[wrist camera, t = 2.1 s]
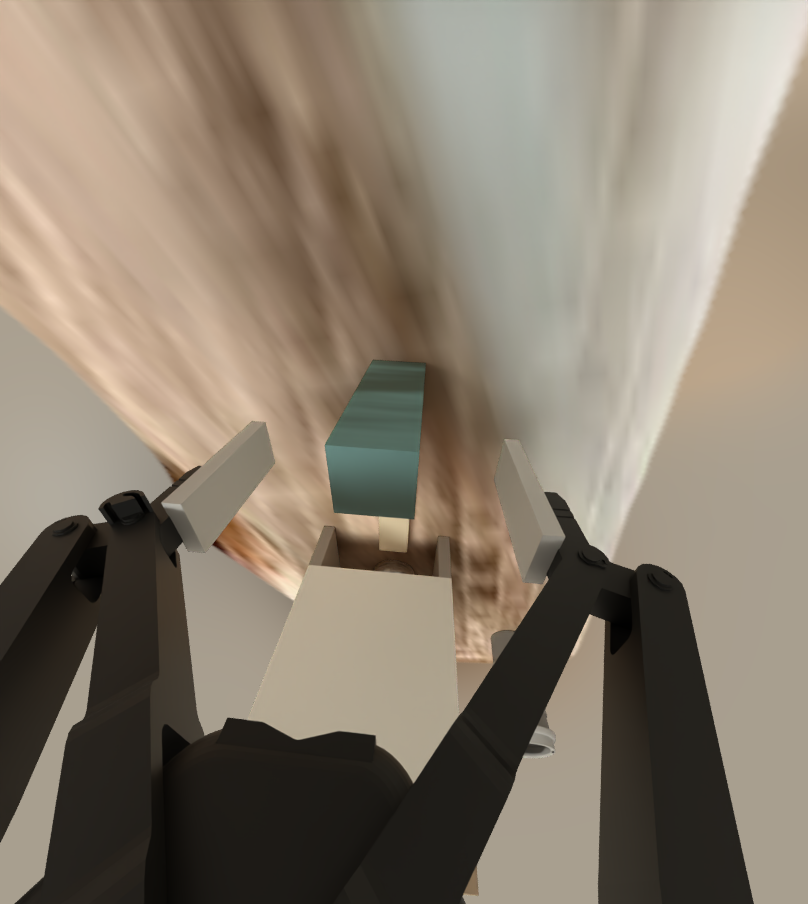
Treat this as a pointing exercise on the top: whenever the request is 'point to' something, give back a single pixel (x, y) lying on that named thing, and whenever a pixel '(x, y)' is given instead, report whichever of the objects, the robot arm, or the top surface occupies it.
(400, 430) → the teal mallet
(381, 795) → the robot arm
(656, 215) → the top surface
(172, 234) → the top surface
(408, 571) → the steel puck
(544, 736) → the cup
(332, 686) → the cupboard
